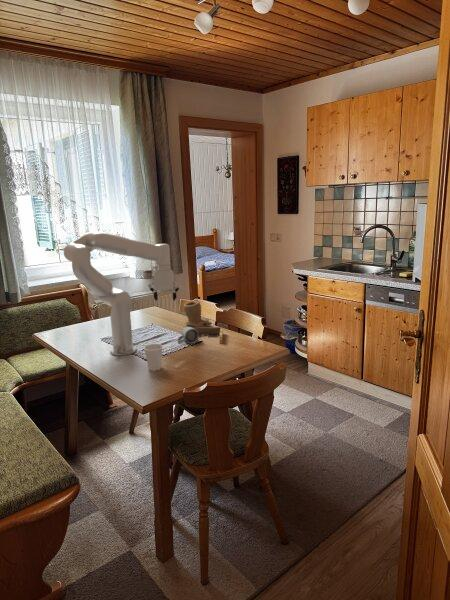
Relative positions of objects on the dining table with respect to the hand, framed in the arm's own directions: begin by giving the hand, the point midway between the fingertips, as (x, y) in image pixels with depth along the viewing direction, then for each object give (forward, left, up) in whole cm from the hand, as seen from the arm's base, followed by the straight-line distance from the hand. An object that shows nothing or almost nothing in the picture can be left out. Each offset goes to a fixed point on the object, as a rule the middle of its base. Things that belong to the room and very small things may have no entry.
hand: (165, 300), depth 216 cm
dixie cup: (-39, 0, -22) cm, 45 cm away
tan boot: (+24, -13, -22) cm, 36 cm away
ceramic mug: (-3, -11, -22) cm, 25 cm away
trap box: (0, -19, -22) cm, 29 cm away
